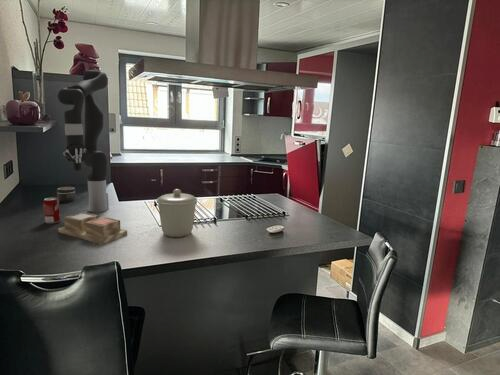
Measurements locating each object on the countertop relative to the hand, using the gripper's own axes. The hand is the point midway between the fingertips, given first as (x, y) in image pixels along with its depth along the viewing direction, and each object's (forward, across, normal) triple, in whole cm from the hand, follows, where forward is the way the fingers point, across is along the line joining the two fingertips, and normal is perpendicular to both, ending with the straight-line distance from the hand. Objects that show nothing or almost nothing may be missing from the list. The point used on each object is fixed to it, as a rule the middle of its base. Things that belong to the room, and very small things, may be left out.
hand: (77, 170), depth 165 cm
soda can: (+27, +6, -14) cm, 31 cm away
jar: (+27, -27, -48) cm, 61 cm away
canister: (+27, -13, +48) cm, 56 cm away
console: (+26, +7, +16) cm, 31 cm away
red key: (+22, +7, +23) cm, 33 cm away
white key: (+22, +7, +9) cm, 25 cm away
